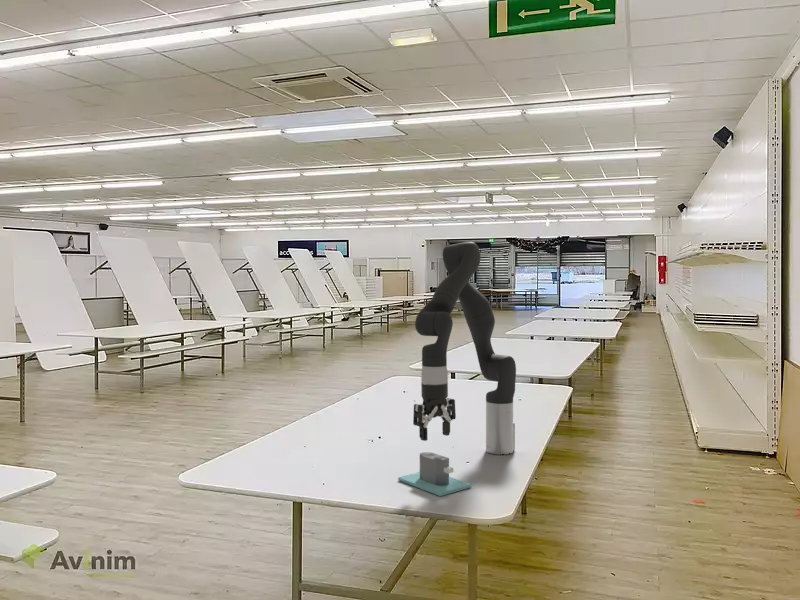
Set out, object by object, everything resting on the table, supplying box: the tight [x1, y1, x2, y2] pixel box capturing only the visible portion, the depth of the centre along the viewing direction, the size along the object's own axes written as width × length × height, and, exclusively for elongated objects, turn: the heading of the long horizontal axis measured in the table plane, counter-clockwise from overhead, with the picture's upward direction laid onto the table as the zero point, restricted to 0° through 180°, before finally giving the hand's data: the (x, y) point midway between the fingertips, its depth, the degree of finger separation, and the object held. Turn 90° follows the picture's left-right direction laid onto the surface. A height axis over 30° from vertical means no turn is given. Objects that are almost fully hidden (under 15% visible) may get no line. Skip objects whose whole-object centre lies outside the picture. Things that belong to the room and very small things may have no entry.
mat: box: [397, 471, 472, 497], centre depth 178 cm, size 12×18×1 cm, turn 39°
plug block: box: [419, 451, 454, 486], centre depth 177 cm, size 4×12×7 cm, turn 39°
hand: (435, 437), depth 177 cm, fingers open, 8 cm apart
